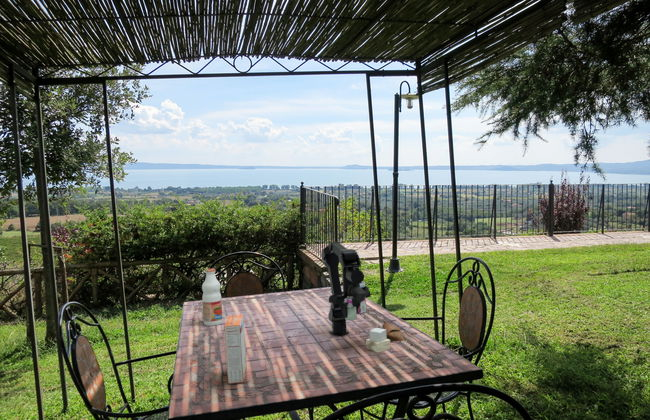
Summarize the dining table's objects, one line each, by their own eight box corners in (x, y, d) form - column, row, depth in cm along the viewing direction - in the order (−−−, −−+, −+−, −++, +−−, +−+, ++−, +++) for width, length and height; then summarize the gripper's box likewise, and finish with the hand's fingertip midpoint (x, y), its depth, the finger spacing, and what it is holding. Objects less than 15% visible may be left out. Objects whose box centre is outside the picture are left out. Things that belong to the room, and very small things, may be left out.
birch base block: (366, 349, 198) (365, 339, 198) (378, 345, 202) (378, 335, 202) (377, 353, 192) (377, 343, 192) (390, 349, 196) (390, 339, 196)
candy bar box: (367, 312, 253) (366, 281, 252) (360, 314, 250) (359, 283, 249) (352, 308, 262) (351, 279, 261) (345, 310, 259) (344, 280, 258)
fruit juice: (207, 321, 249) (204, 267, 248) (224, 320, 249) (222, 267, 247) (201, 326, 240) (198, 271, 239) (219, 326, 239) (216, 270, 238)
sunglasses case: (406, 340, 205) (397, 327, 205) (392, 349, 205) (384, 336, 205) (400, 328, 223) (392, 316, 223) (387, 336, 223) (379, 324, 223)
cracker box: (231, 369, 181) (228, 314, 180) (247, 368, 182) (244, 313, 181) (226, 384, 167) (223, 325, 166) (244, 383, 168) (241, 324, 167)
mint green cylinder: (342, 318, 203) (342, 307, 203) (351, 316, 206) (351, 305, 206) (350, 321, 200) (349, 309, 199) (358, 318, 202) (358, 307, 202)
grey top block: (369, 340, 196) (369, 331, 196) (375, 337, 200) (375, 327, 200) (380, 342, 193) (380, 332, 193) (386, 338, 198) (386, 329, 197)
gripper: (344, 286, 190) (345, 324, 191) (378, 279, 201) (380, 315, 202) (327, 282, 199) (328, 319, 200) (361, 275, 210) (362, 310, 211)
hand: (350, 316), depth 203 cm, fingers closed on mint green cylinder, 5 cm apart
